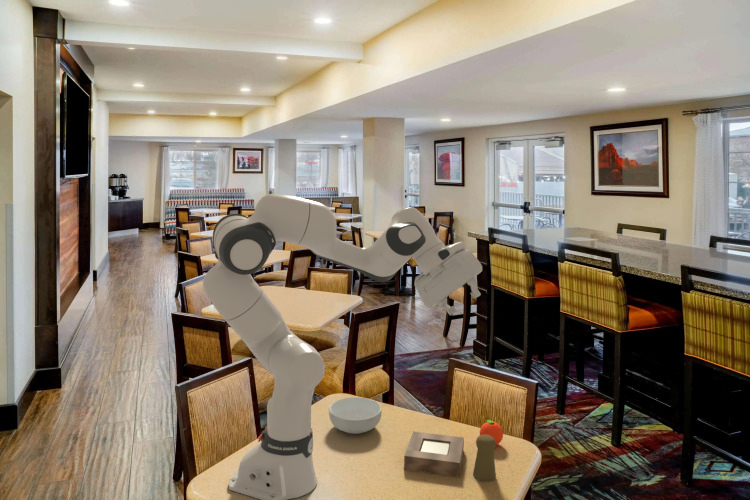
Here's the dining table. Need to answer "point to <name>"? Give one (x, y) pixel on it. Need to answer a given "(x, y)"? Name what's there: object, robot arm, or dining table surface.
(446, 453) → the cream square tile
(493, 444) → the olive pepper mill
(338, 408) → the cereal bowl
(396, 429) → the dining table surface
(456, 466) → the socket block
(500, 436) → the clementine
